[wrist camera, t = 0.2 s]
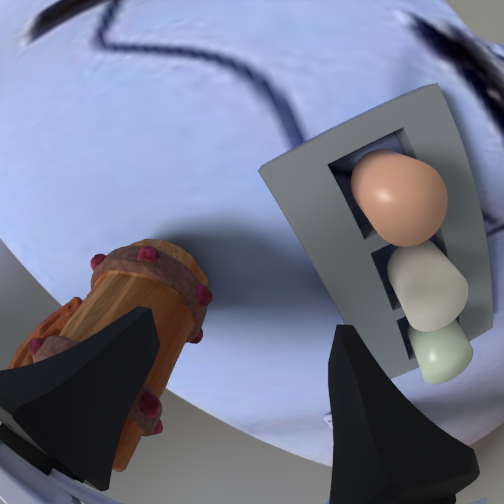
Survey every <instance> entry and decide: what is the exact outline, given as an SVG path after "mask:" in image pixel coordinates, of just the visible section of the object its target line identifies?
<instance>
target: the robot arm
mask: <svg viewBox="0 0 504 504" xmlns="http://www.w3.org/2000/svg"><path fill="white" fill-rule="evenodd" d="M160 346H161V344H160V341H159V337H158V333H157V329H156V325H155V321H154V317H153V313H152V309H151V308H148V307H142V306H138V307H136V308H134V309H132V310H131V311H129V312H128V313H126V314H125V315H123V316H121V317H120V318H118V319H117V320H115V321H114V322H112V323H111V324H109V325H108V326H106V327H105V328H103V329H102V330H100V331H98V332H97V333H95V334H94V335H92V336H90V337H88V338H87V339H85V340H83V341H82V342H80V343H78V344H77V345H75V346H73V347H71V348H69V349H67V350H65V351H63V352H61V353H58V354H56V355H54V356H51V357H48V358H46V359H43V360H41V361H38V362H35V363H32V364H29V365H25V366H21V367H17V368H13V369H7V370H2V371H0V421H1V422H2V424H1V425H0V498H1V499H2V500H3V501H4V502H5V503H6V504H81V503H80V501H82V502H84V503H86V504H122V503H120V502H118V501H115V500H113V499H111V498H108V497H106V496H104V495H102V494H100V493H98V492H96V491H94V490H92V489H90V488H87V487H86V486H84V485H81V484H80V483H78V482H76V481H74V480H77V481H79V482H81V483H85V484H87V485H89V486H91V487H93V488H95V489H97V490H99V491H105V490H108V489H109V483H110V477H111V471H112V466H113V462H114V458H115V454H116V450H117V446H118V443H119V440H120V436H121V433H122V430H123V427H124V425H125V422H126V419H127V416H128V414H129V411H130V409H131V407H132V405H133V403H134V401H135V399H136V397H137V395H138V393H139V392H140V390H141V388H142V386H143V384H144V382H145V380H146V378H147V377H148V375H149V373H150V371H151V369H152V367H153V365H154V362H155V360H156V357H157V354H158V351H159V348H160ZM328 388H329V397H330V407H331V414H328V415H326V416H325V417H324V420H325V421H326V422H327V424H328V425H329V426H330V427H331V428H332V429H333V442H334V445H333V467H332V481H331V491H330V497H329V498H327V499H326V500H325V502H324V503H323V504H455V503H456V496H455V494H456V493H458V492H459V491H461V490H462V489H464V488H465V487H466V486H468V485H469V484H471V483H472V482H473V481H474V480H476V479H477V477H478V476H479V474H480V471H479V466H478V462H477V459H476V455H475V452H474V449H472V448H470V447H469V446H467V445H465V444H464V443H462V442H460V441H459V440H457V439H455V438H454V437H452V436H451V435H449V434H448V433H446V432H445V431H444V430H442V429H441V428H439V427H438V426H437V425H435V424H434V423H433V422H432V421H431V420H429V419H428V418H427V417H426V416H425V415H424V414H423V413H421V412H420V411H419V410H418V409H417V408H416V407H415V406H414V405H413V404H412V403H411V402H410V401H409V400H408V399H407V398H406V397H405V396H404V395H403V394H402V393H401V392H400V391H399V389H398V388H397V387H396V386H395V385H394V383H393V382H392V381H391V380H390V378H389V377H388V376H387V375H386V373H385V372H384V371H383V369H382V368H381V367H380V365H379V364H378V362H377V361H376V359H375V358H374V357H373V355H372V354H371V352H370V351H369V349H368V348H367V346H366V345H365V343H364V341H363V340H362V338H361V337H360V335H359V333H358V332H357V330H356V328H355V327H354V326H353V325H339V324H337V326H336V331H335V335H334V340H333V344H332V349H331V353H330V357H329V361H328ZM79 500H80V501H79ZM472 504H488V500H487V498H483V499H481V500H479V501H476V502H474V503H472Z"/></svg>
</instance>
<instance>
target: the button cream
mask: <svg viewBox="0 0 504 504" xmlns="http://www.w3.org/2000/svg"><path fill="white" fill-rule="evenodd" d="M387 275H388V279H389V281H390V283H391V285H392V287H393V289H394V291H395V293H396V295H397V297H398V299H399V302H400V304H401V306H402V308H403V310H404V312H405V315H406V317H407V319H408V321H409V323H410V325H411V326H412V327H413V328H415V329H416V330H419V331H423V332H431V331H436V330H439V329H441V328H443V327H445V326H447V325H448V324H450V323H451V322H452V321H453V320H454V319H455V318H456V317H457V316H458V315H459V314H460V313H461V311H462V310H463V308H464V306H465V304H466V301H467V298H468V284H467V281H466V279H465V278H464V277H463V275H462V274H461V273H460V272H459V271H458V270H457V268H456V267H455V266H454V265H453V264H452V263H451V262H450V260H449V259H448V258H447V257H446V256H445V255H444V254H443V253H442V252H441V251H440V249H439V248H438V247H437V246H436V245H435V244H434V243H433V242H432V241H430V240H426V241H425V242H423V243H421V244H418V245H415V246H410V247H402V246H398V247H397V248H396V249H395V251H394V252H393V253H392V255H391V257H390V259H389V262H388V266H387Z"/></svg>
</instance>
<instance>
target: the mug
mask: <svg viewBox="0 0 504 504" xmlns="http://www.w3.org/2000/svg"><path fill="white" fill-rule="evenodd" d="M91 268H92V269H93V271H94V272H93V274H92V279H91V291H90V292H89V294H88V295H87V297H86V298H85V299H84V301H83V300H81V299H80V298H79V297H74V298H73V299H72V300H71V301H70V302H68V303H67V304H65V305H64V306H62V307H61V308H60V309H58V310H57V311H56V312H54V313H53V314H52V315H50V316H49V317H48V318H47V319H46V320H44V321H43V322H42V323H41V324H40V325H39V326H38V327H37V328H36V329H35V330H34V331H33V332H32V333H31V334H30V335H29V336H28V337H27V339H26V340H25V341H24V342H23V344H22V345H21V346H20V347H19V349H18V350H17V351H16V353H15V355H14V357H13V359H12V361H11V363H10V365H9V367H8V369H13V368H17V367H21V366H25V365H29V364H32V363H35V362H38V361H41V360H43V359H46V358H48V357H51V356H54V355H56V354H58V353H61V352H63V351H65V350H67V349H69V348H71V347H73V346H75V345H77V344H78V343H80V342H82V341H83V340H85V339H87V338H88V337H90V336H92V335H94V334H95V333H97V332H98V331H100V330H102V329H103V328H105V327H106V326H108V325H109V324H111V323H112V322H114V321H115V320H117V319H118V318H120V317H121V316H123V315H125V314H126V313H128V312H129V311H131V310H132V309H134V308H136V307H138V306H142V307H148V308H151V309H152V313H153V317H154V321H155V325H156V329H157V333H158V337H159V341H160V344H161V346H160V348H159V351H158V354H157V357H156V360H155V362H154V365H153V367H152V369H151V371H150V373H149V375H148V377H147V378H146V380H145V382H144V384H143V386H142V388H141V390H140V392H139V393H138V395H137V397H136V399H135V401H134V403H133V405H132V407H131V409H130V411H129V414H128V416H127V419H126V422H125V425H124V427H123V430H122V433H121V436H120V440H119V443H118V446H117V450H116V454H115V458H114V462H113V466H112V469H113V470H115V471H117V472H122V471H123V470H125V469H126V467H127V465H128V463H129V461H130V459H131V457H132V455H133V453H134V451H135V449H136V446H137V445H138V443H139V440H140V438H141V436H150V435H155V434H158V433H161V432H162V430H163V426H162V422H161V420H160V416H161V413H162V405H161V402H160V400H159V398H160V396H161V394H162V393H163V391H164V389H165V387H166V385H167V383H168V380H169V378H170V375H171V373H172V370H173V368H174V366H175V364H176V361H177V359H178V357H179V355H180V353H181V351H182V348H183V346H184V344H185V343H187V342H189V343H195V344H197V343H199V342H200V341H201V340H202V337H203V331H202V328H201V327H202V324H203V321H204V318H205V315H206V311H207V305H208V304H209V303H210V302H211V300H212V294H211V292H210V290H209V282H208V278H207V276H206V274H205V273H204V272H203V270H202V269H201V267H200V265H199V264H198V263H197V261H196V260H195V259H194V257H193V256H192V255H190V254H189V253H188V252H186V251H185V250H184V249H182V248H181V247H180V246H177V245H174V244H172V243H171V242H169V241H163V240H155V239H144V240H141V241H139V242H135V243H133V244H131V245H129V246H125V247H121V248H118V249H115V250H113V251H112V252H111V253H109V254H108V255H107V256H106V255H104V254H97V255H95V256H94V257H93V258H92V259H91Z"/></svg>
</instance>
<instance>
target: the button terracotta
mask: <svg viewBox="0 0 504 504" xmlns="http://www.w3.org/2000/svg"><path fill="white" fill-rule="evenodd" d="M351 191H352V194H353V197H354V199H355V201H356V203H357V204H358V205H359V207H360V208H361V210H362V211H363V212H364V214H365V215H366V217H367V218H368V220H369V221H370V223H371V224H372V226H373V227H374V228H375V230H376V231H377V233H378V234H379V235H380V236H381V237H382V238H383V239H384V240H385V241H387V242H389V243H391V244H393V245H396V246H402V247H410V246H415V245H418V244H421V243H423V242H425V241H426V240H428V239H429V238H430V237H432V236H433V235H434V234H435V233H436V232H437V230H438V229H439V228H440V226H441V224H442V222H443V220H444V218H445V215H446V211H447V204H448V197H447V190H446V187H445V184H444V182H443V180H442V178H441V176H440V175H439V174H438V172H437V171H436V170H435V169H434V168H432V167H431V166H430V165H428V164H426V163H424V162H422V161H419V160H416V159H414V158H411V157H408V156H406V155H403V154H400V153H397V152H394V151H391V150H387V149H379V150H374V151H371V152H369V153H367V154H366V155H364V156H363V157H362V158H361V159H360V160H359V161H358V162H357V164H356V165H355V167H354V170H353V172H352V176H351Z"/></svg>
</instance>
